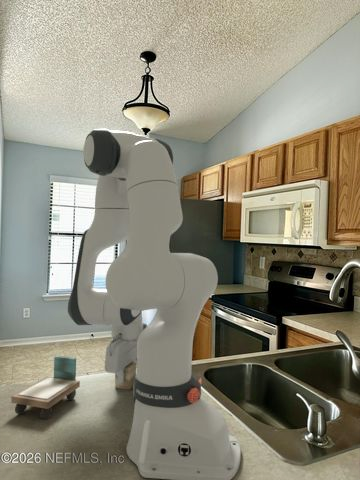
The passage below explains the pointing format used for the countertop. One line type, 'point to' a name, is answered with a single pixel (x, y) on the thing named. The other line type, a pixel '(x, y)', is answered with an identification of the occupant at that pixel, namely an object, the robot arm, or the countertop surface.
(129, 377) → the maple block
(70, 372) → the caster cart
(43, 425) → the countertop surface
